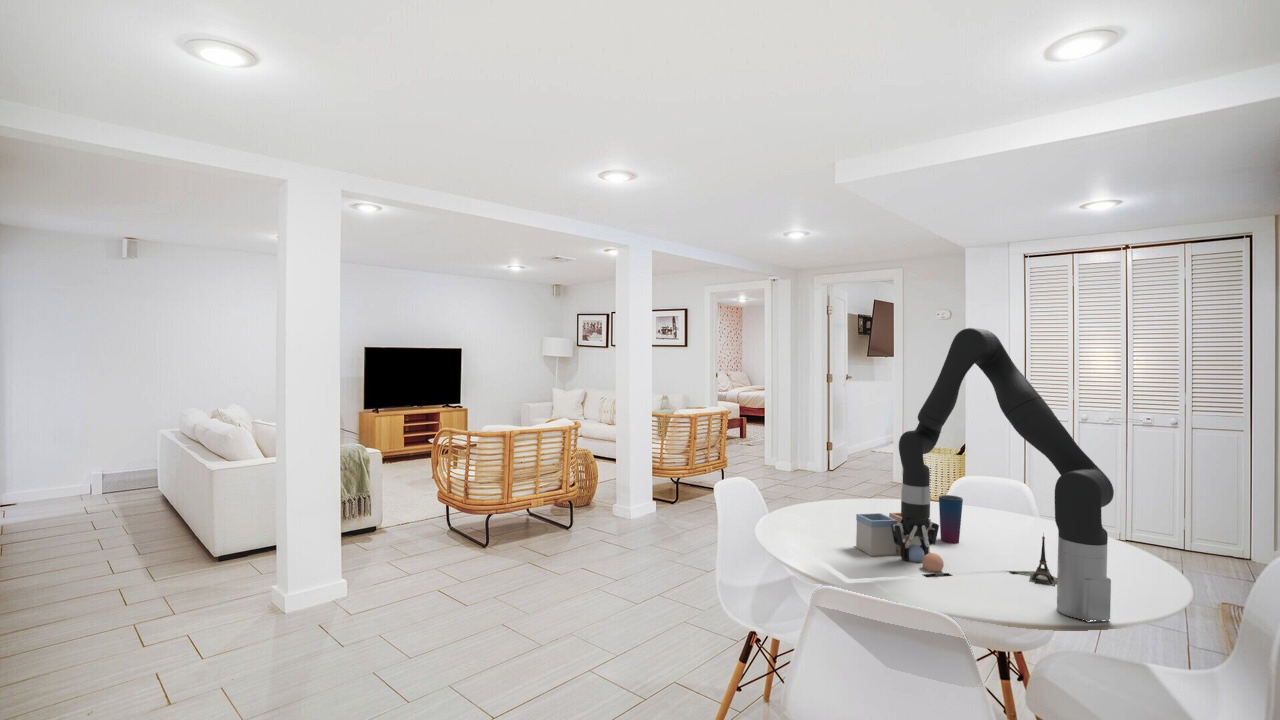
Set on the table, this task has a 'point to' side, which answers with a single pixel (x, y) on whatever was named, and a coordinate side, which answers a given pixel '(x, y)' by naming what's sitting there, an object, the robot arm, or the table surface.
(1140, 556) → the table surface
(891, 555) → the tube board
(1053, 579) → the eiffel tower figurine
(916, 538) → the tube terracotta
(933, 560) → the ball terracotta
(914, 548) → the ball slate
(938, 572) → the mat
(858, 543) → the tube slate
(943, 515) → the cup
